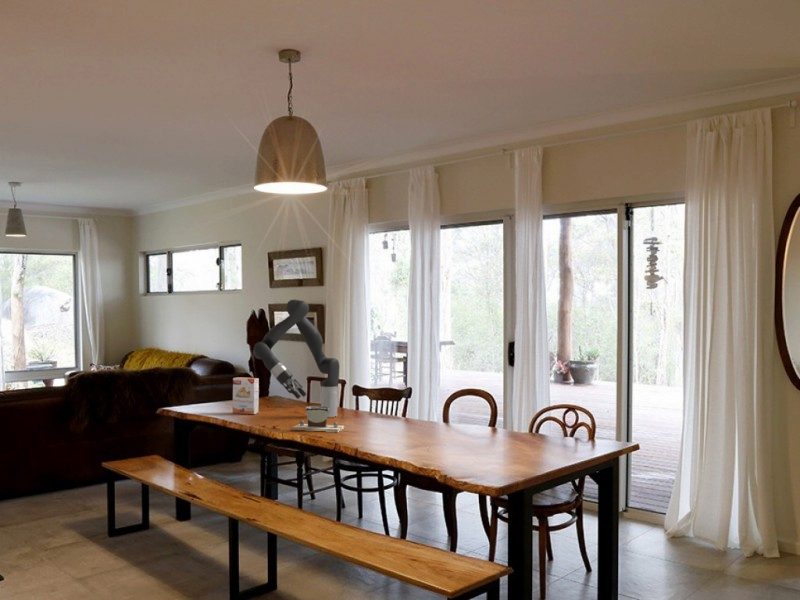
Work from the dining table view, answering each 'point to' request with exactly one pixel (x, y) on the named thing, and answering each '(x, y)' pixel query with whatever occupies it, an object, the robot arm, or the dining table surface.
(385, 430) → the dining table surface
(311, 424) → the food container
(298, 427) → the board
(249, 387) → the cracker box
